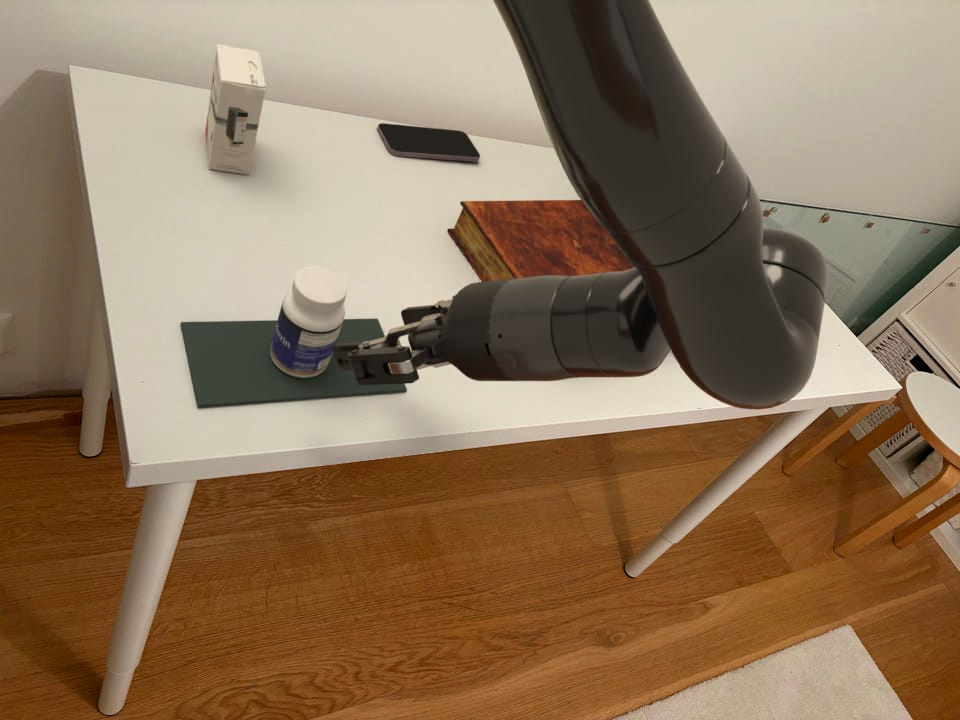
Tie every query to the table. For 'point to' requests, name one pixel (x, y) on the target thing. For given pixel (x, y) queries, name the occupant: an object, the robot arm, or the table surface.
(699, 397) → the table surface
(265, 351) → the mat
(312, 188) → the table surface
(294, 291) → the pill bottle
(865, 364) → the table surface
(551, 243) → the book
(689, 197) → the robot arm
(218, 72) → the ink box
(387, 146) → the smartphone
